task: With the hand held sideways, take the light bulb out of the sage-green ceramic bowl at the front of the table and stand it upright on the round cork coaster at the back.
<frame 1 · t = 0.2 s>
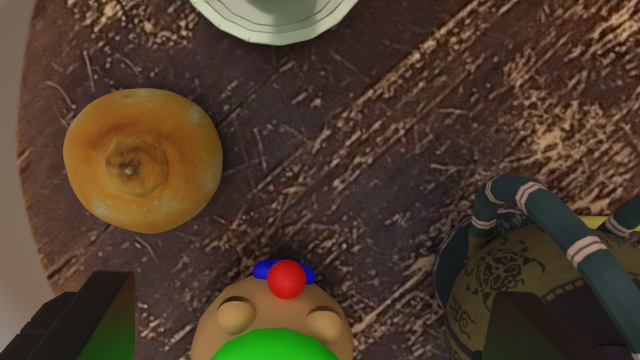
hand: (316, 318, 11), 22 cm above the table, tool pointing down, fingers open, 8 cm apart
fruit: (161, 148, 32), on the table
figurine: (275, 302, 35), on the table
teapot: (486, 316, 37), on the table
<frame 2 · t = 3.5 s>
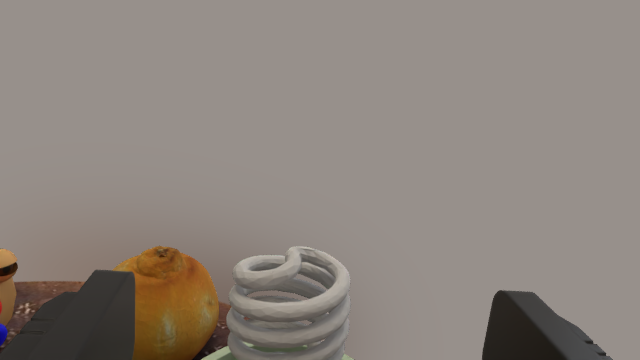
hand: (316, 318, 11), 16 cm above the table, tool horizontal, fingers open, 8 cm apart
fruit: (156, 356, 36), on the table
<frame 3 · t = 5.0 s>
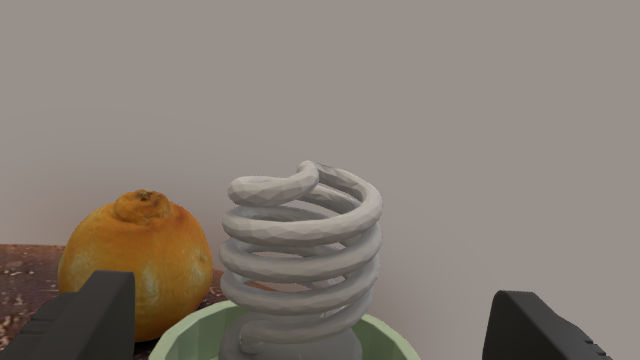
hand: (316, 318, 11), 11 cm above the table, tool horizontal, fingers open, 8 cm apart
fruit: (138, 324, 30), on the table
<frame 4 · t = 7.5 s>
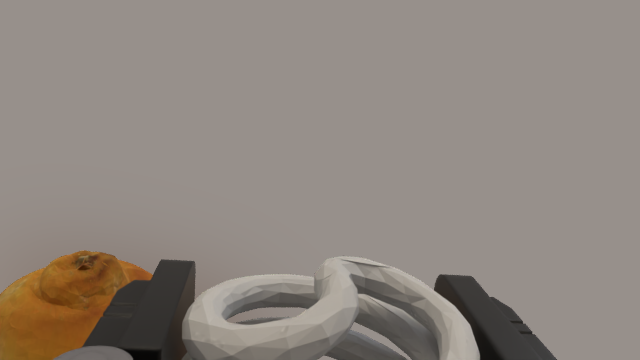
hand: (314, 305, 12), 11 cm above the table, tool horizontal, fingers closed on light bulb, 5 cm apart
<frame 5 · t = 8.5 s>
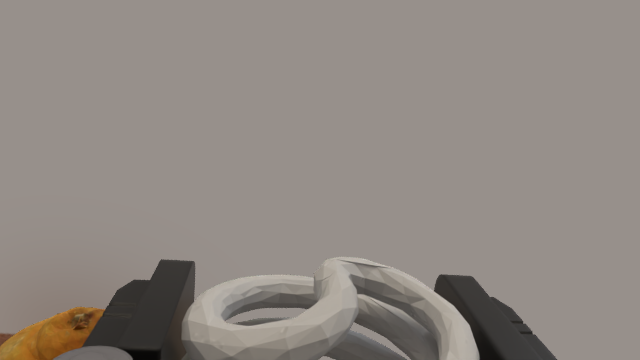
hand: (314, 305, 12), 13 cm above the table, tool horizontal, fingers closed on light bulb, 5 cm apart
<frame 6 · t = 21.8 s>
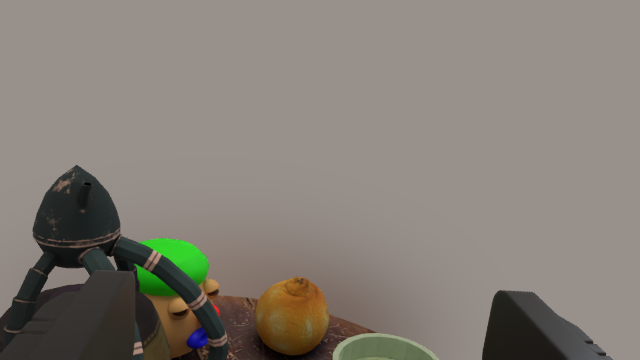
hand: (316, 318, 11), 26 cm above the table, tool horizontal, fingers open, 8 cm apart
fruit: (290, 345, 57), on the table
figurine: (169, 356, 53), on the table
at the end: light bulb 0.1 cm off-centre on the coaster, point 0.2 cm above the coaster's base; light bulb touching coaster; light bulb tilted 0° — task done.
